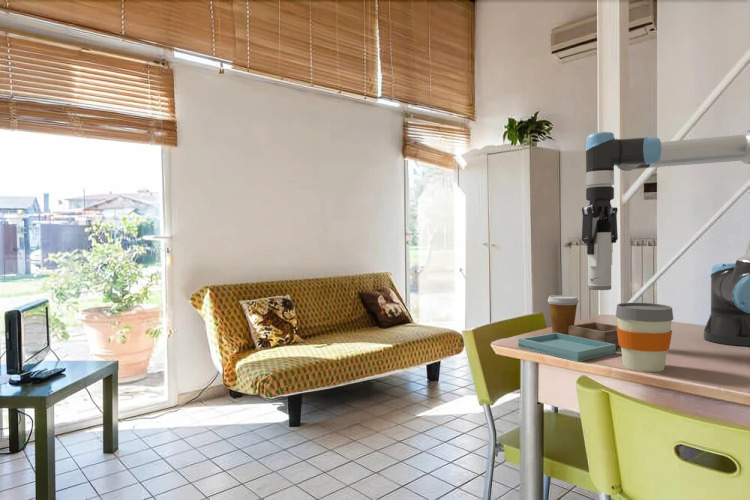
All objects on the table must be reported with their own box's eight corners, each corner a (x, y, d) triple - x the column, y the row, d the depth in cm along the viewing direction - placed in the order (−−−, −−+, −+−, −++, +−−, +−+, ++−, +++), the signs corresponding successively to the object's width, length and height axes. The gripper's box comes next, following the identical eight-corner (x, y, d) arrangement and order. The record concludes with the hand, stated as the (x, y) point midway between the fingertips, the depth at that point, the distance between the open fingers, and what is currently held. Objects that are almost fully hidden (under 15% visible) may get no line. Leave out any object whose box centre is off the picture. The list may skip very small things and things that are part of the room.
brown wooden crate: (630, 344, 152) (630, 327, 151) (604, 350, 145) (604, 332, 145) (593, 337, 162) (593, 321, 162) (568, 342, 155) (568, 326, 155)
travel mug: (591, 290, 150) (591, 221, 149) (586, 287, 157) (585, 221, 156) (614, 290, 149) (614, 220, 148) (608, 287, 155) (607, 221, 155)
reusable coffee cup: (677, 375, 119) (678, 311, 119) (617, 371, 124) (618, 308, 123) (667, 362, 131) (668, 303, 131) (613, 358, 135) (613, 301, 135)
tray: (615, 353, 141) (615, 344, 141) (577, 361, 133) (577, 352, 133) (555, 340, 158) (555, 332, 158) (518, 347, 150) (518, 338, 150)
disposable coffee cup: (580, 336, 164) (581, 298, 163) (549, 335, 165) (549, 298, 165) (575, 331, 173) (575, 295, 172) (545, 330, 175) (545, 294, 174)
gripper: (608, 188, 160) (608, 263, 161) (567, 186, 150) (567, 266, 151) (631, 186, 154) (631, 264, 154) (590, 184, 144) (590, 267, 144)
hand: (600, 265), depth 153 cm, fingers closed on travel mug, 6 cm apart
